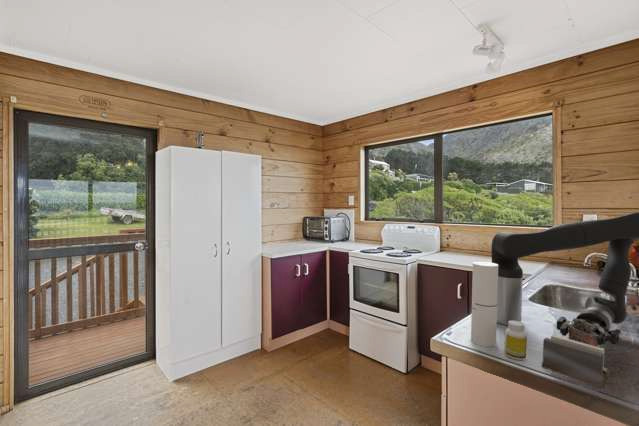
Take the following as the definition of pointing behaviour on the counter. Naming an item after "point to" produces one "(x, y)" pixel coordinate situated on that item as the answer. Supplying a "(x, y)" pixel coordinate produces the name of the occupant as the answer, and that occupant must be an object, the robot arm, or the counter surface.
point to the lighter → (582, 332)
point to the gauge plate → (579, 345)
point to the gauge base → (574, 362)
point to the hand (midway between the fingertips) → (580, 336)
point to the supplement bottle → (515, 340)
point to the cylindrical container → (484, 303)
